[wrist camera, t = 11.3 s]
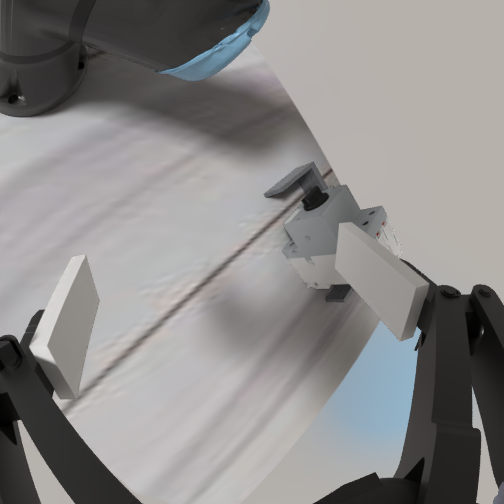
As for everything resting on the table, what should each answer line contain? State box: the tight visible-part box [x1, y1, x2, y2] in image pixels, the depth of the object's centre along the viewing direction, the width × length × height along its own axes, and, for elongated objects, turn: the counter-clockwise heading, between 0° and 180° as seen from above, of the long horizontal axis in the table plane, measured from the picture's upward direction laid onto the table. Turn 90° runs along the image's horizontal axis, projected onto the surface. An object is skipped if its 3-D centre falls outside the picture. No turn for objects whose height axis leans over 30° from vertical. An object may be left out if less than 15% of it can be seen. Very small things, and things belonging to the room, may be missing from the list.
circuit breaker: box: [282, 185, 403, 289], centre depth 45 cm, size 8×14×15 cm, turn 44°
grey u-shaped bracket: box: [264, 162, 354, 302], centre depth 51 cm, size 22×9×4 cm, turn 40°
